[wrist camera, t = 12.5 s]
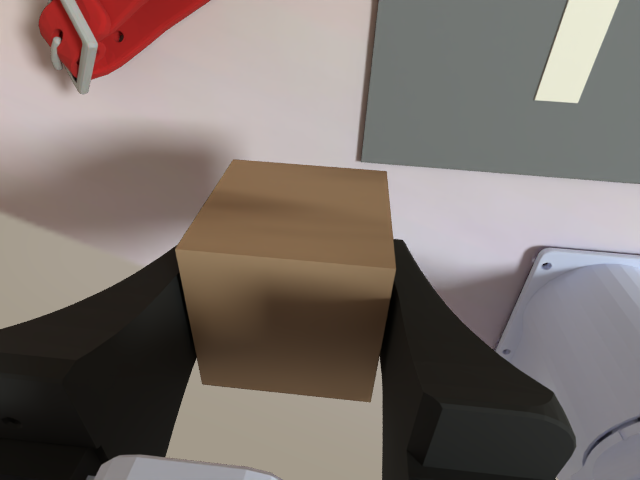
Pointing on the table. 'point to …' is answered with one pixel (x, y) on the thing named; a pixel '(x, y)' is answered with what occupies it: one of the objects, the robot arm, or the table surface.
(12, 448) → the robot arm
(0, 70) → the table surface
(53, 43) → the tracker holder
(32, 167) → the table surface
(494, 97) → the letter mat
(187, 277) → the walnut cube
